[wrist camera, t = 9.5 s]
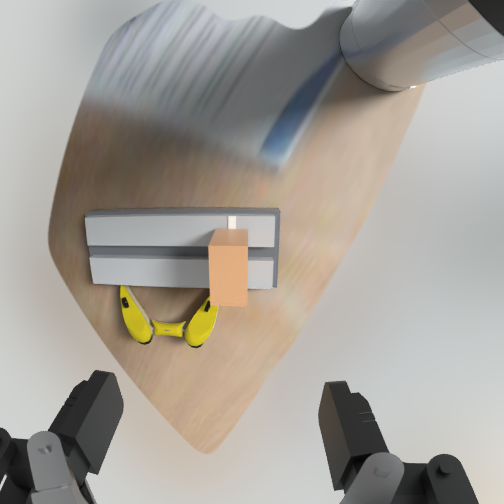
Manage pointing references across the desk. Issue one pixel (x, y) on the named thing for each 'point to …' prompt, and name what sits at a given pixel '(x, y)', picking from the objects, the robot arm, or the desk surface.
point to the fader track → (177, 244)
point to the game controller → (145, 331)
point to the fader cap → (228, 267)
